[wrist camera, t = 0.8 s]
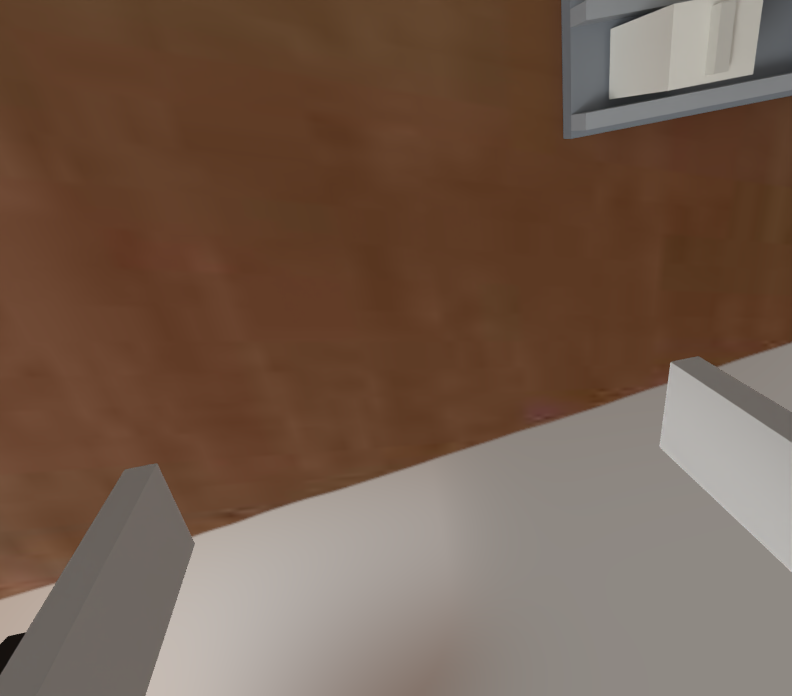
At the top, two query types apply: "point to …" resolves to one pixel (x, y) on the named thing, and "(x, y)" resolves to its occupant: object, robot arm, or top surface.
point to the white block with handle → (684, 46)
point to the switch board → (595, 113)
